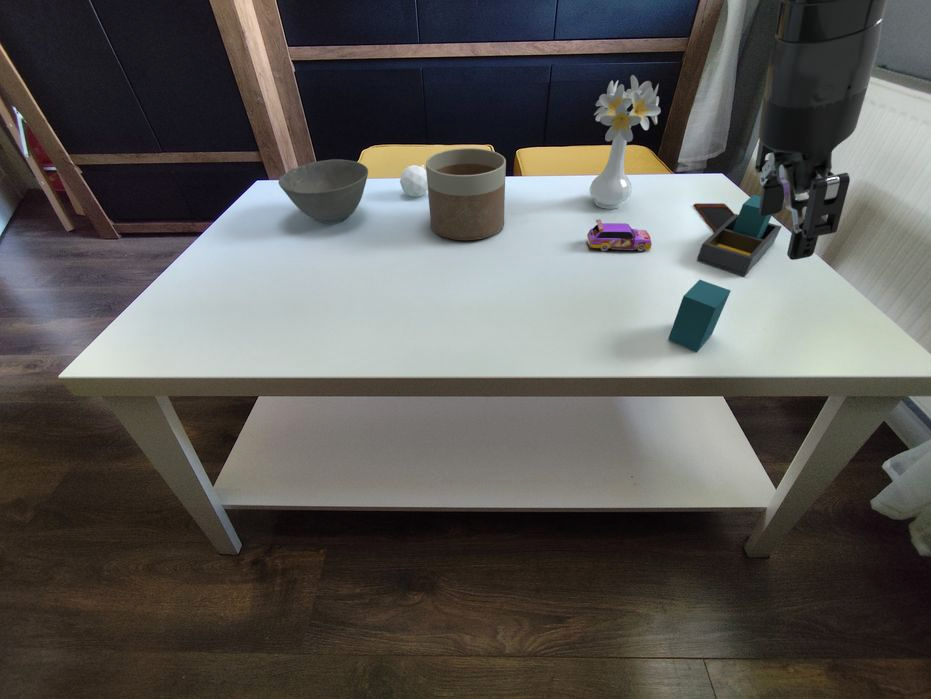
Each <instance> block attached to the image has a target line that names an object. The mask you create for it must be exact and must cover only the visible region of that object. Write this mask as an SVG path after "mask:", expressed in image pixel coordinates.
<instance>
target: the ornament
mask: <svg viewBox="0 0 931 699" xmlns="http://www.w3.org/2000/svg"><path fill="white" fill-rule="evenodd" d="M399 183H400V186H401V189H402V191H403V192H404V193H405V194H406V195H407V196H410V197H413V198H419V197H422V196H424V195H425V194H426V193H427V192H428V185H427V173H426V165H425V164H421V165H416V164H413V165H409V166H406V167H405V168H404V170H403V171H402V172H401V173H400V180H399Z"/></svg>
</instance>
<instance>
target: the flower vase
mask: <svg viewBox="0 0 931 699" xmlns="http://www.w3.org/2000/svg"><path fill="white" fill-rule="evenodd" d="M618 84H619V80H617V81H616V82H615V83H614V81H613V80H611V81H610V82H609V83H608V86H607V90H606V93H602V94H600V96H599V97H598V98H599V99H598V100H597V101H596V103H595V107H599V108H597V110H596V111H595V112H594V113H593V116H595V121H596V122H600V123H601V124H602V125H604V126H608V127H609V129H608V130H607V131H606V133H605V135H604V136H605V138H604V140H605V141H606V142H611V141H612V143H611V147H610V150H609V156H608V159H607V162H606V165H605V167H604V168H603V169H602V172H601V173H600V174H599V175H597V176H596V177H595V178H594V179H593V180H592V181H591V184H590V186H589V189H588V190H589V193H590V196H591V197H592V199H593V200H594V204H595V206H596V207H599V208H600V209H604V210H605V209H606V210H615V209H619V208H620V207H621V206H622V205H623V203H624V202H626V201H627V200H628V199H629V198H630V197H631V196H632V193H633V185H632V182H631V181H630V179H629V178H628V176H627V174H626V170H625V156H626V151H627V144H628V143H631V142H632V141H633V139H634V134H633V132H632V129H631V128H632V127H633V126H636V125H639V124H640V126H641V128H642V129H643V130H644V131H648V130H649V129H650V121H649V118H648V117H650V118H651V120H652V122H653V124H654V125H655V126H656V125H658V115H660V114H661V112H662V111H661V107H659V103H660V97H659V96H658V95H657V93H658V90H659V83H657V85H656V87H655V89H654V88H653V86H652V85H653V84H652V82H651V81H650V80H646V81H644V82H642V84H641V85H639V81H638V78H637V77H636V76H635V75H633V74H632V75H631V76H630V88H628V89H626V91H625V86H624V84H622V83H621V84H619V85H618ZM630 106H632V109H631V111H628V108H630Z"/></svg>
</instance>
